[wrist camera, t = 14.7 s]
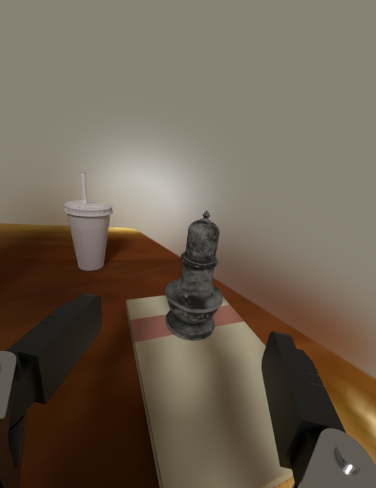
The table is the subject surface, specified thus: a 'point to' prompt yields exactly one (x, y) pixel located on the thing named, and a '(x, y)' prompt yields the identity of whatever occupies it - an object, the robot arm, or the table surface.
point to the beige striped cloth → (204, 401)
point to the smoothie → (88, 229)
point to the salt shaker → (195, 285)
